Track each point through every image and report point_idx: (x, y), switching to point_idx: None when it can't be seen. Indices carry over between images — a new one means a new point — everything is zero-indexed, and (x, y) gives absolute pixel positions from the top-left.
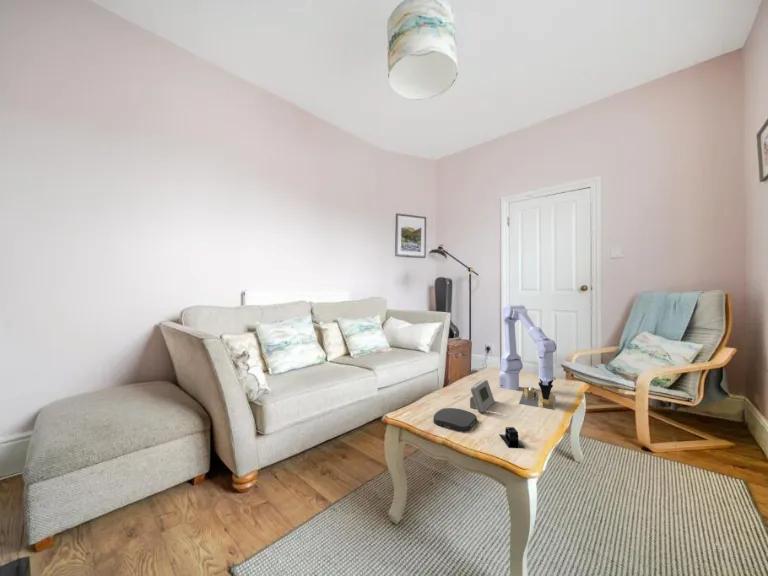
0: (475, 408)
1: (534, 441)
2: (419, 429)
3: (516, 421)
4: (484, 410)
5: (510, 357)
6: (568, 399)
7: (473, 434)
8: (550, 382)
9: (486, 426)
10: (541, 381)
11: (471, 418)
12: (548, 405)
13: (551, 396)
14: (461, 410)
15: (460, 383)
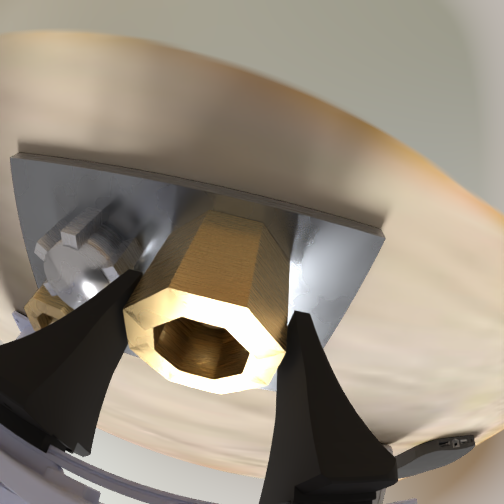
0: None
1: None
2: None
3: (466, 389)
4: (385, 447)
5: (9, 498)
6: (20, 61)
7: (488, 427)
8: (58, 390)
9: (467, 424)
10: (90, 430)
11: (452, 452)
12: (289, 264)
13: (264, 299)
14: (403, 468)
15: (122, 437)
